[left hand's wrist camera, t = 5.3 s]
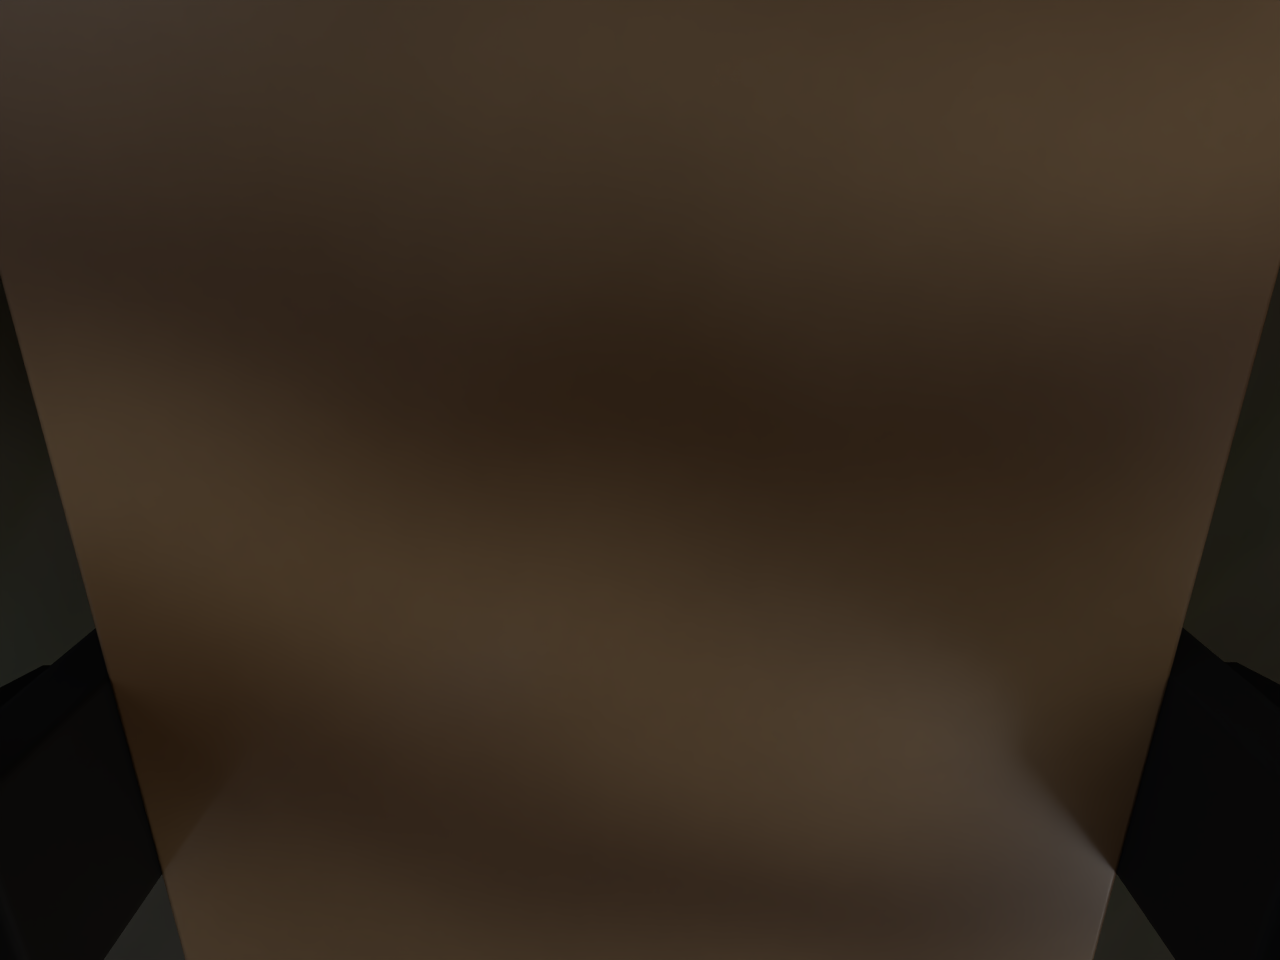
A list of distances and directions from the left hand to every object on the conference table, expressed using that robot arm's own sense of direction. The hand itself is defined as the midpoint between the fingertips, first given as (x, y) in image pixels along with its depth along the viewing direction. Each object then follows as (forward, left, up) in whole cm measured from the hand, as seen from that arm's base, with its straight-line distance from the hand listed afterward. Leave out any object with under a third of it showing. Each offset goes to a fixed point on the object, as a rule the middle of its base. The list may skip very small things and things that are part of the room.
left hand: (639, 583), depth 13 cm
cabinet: (+2, +5, -4) cm, 6 cm away
